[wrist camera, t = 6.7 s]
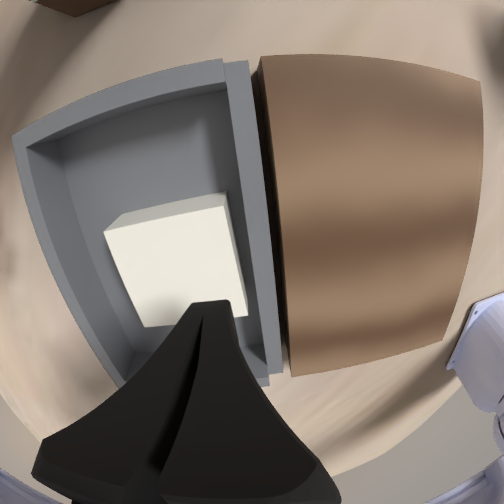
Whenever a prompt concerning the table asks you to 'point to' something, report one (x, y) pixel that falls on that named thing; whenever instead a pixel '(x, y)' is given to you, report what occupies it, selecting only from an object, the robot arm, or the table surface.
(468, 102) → the board
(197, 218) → the block
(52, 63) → the table surface
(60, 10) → the beer bottle
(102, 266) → the box
